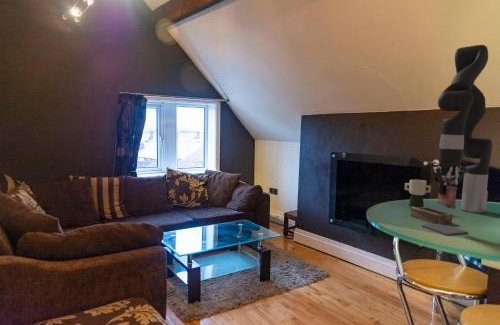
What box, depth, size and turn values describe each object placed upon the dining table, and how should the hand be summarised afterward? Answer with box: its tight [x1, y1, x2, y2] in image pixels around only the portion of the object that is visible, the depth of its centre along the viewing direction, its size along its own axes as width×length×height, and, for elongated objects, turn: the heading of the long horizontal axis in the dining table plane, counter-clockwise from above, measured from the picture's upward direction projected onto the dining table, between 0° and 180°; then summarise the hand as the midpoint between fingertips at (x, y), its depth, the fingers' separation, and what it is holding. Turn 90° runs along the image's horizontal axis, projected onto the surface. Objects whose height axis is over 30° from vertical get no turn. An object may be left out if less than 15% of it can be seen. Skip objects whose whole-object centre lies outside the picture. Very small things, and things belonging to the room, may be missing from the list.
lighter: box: [437, 178, 458, 210], centre depth 126 cm, size 8×3×10 cm, turn 5°
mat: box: [421, 223, 469, 236], centre depth 127 cm, size 10×11×1 cm
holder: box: [410, 206, 453, 225], centre depth 141 cm, size 8×13×4 cm, turn 18°
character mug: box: [404, 179, 432, 208], centre depth 161 cm, size 11×7×13 cm, turn 56°
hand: (447, 194), depth 126 cm, fingers closed on lighter, 4 cm apart
